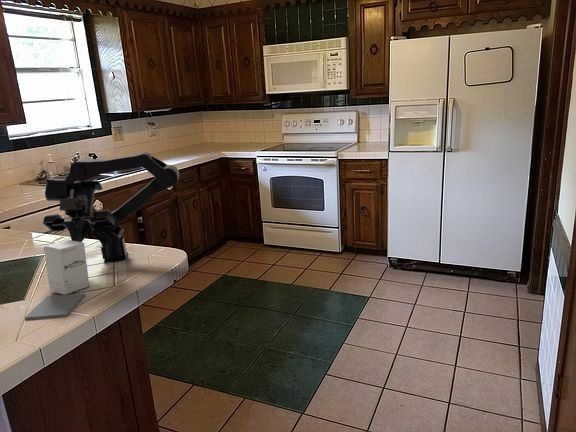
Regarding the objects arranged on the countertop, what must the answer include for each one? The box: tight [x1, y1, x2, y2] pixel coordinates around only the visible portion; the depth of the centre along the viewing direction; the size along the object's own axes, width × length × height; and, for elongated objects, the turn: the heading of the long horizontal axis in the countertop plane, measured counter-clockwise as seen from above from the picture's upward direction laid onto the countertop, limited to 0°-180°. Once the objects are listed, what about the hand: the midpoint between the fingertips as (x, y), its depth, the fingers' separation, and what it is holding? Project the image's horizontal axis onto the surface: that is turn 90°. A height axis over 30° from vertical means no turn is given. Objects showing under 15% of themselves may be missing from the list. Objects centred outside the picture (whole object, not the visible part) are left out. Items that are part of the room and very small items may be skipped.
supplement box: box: [43, 239, 90, 295], centre depth 119 cm, size 7×7×13 cm
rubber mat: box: [24, 292, 86, 321], centre depth 110 cm, size 11×10×1 cm
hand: (75, 247), depth 125 cm, fingers closed
